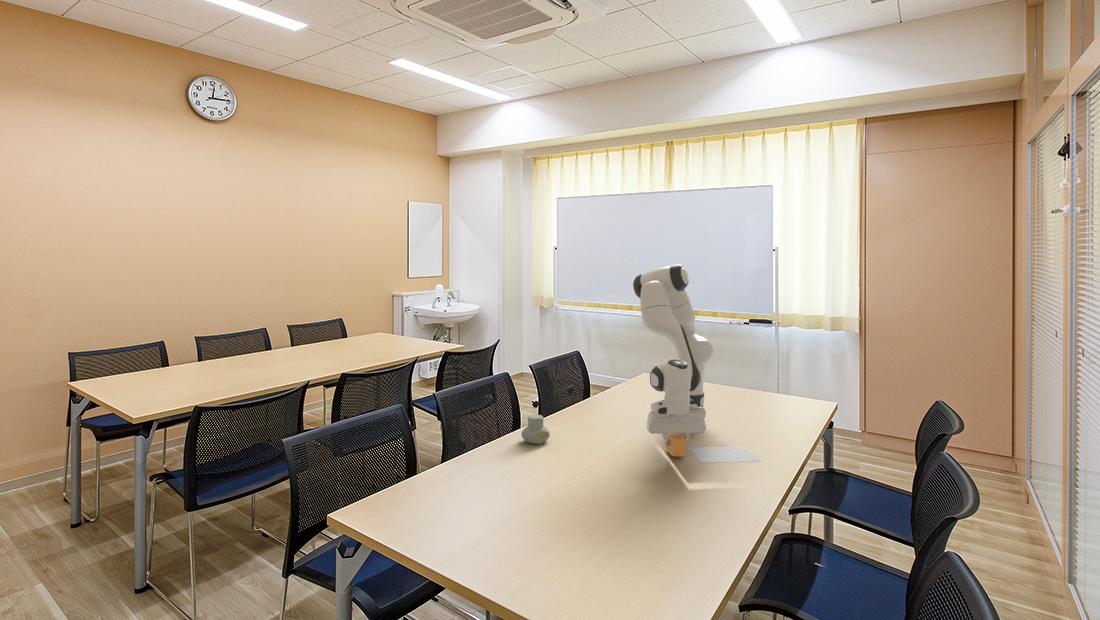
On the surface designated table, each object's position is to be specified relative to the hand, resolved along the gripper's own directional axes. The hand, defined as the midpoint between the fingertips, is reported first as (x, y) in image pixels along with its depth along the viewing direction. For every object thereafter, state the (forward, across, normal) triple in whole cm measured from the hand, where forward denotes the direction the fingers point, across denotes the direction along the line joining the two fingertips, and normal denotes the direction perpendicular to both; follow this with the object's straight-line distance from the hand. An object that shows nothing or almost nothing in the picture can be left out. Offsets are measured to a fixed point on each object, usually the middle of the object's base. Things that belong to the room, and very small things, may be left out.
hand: (675, 444), depth 193 cm
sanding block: (+2, 0, 0) cm, 3 cm away
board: (+5, -18, 0) cm, 18 cm away
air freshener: (+6, +49, -20) cm, 53 cm away
